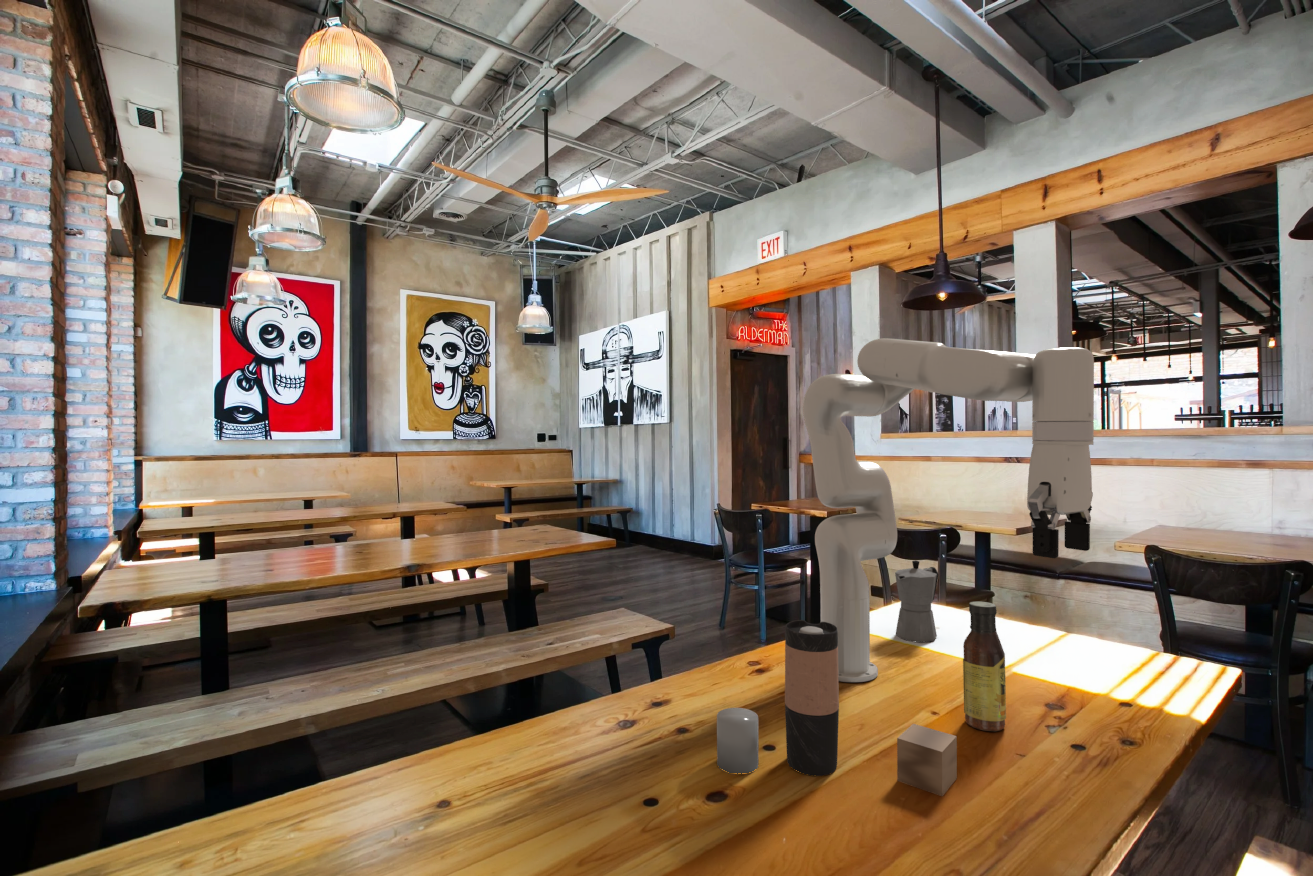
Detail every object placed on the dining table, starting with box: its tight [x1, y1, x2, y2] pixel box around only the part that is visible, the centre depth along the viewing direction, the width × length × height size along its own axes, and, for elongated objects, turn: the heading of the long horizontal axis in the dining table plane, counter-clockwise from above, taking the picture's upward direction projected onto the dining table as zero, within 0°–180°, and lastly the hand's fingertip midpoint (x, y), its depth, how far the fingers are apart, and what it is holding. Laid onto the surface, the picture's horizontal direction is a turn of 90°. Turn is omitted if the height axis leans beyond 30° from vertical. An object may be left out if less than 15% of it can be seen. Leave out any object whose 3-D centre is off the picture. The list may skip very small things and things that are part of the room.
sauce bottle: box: [962, 601, 1007, 733], centre depth 107 cm, size 7×6×20 cm
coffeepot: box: [894, 560, 939, 643], centre depth 155 cm, size 15×9×18 cm, turn 125°
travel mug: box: [784, 619, 840, 777], centre depth 95 cm, size 8×8×20 cm
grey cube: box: [896, 723, 958, 797], centre depth 90 cm, size 6×6×6 cm
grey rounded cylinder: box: [716, 707, 759, 774], centre depth 95 cm, size 6×6×7 cm
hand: (1061, 552), depth 94 cm, fingers open, 9 cm apart
